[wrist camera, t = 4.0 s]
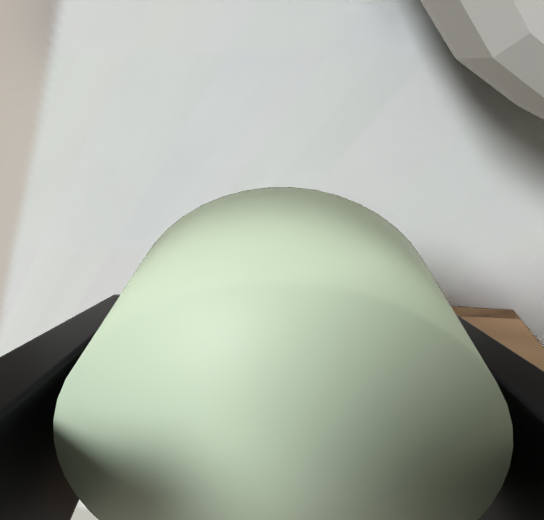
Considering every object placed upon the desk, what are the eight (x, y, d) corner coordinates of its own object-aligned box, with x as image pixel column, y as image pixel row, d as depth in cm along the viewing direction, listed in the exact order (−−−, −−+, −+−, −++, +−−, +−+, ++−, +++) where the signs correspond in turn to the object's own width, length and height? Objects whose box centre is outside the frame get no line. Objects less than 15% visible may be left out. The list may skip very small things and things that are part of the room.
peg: (378, 355, 12) (446, 595, 7) (177, 343, 12) (93, 573, 7) (422, 152, 9) (594, 299, 4) (160, 138, 9) (-4, 266, 4)
